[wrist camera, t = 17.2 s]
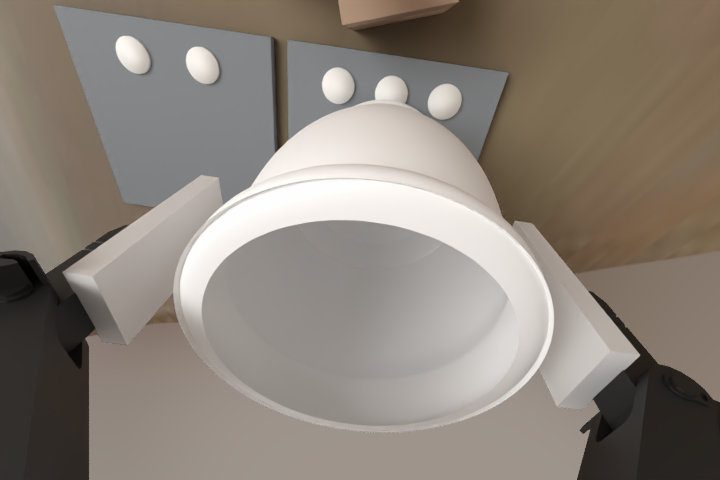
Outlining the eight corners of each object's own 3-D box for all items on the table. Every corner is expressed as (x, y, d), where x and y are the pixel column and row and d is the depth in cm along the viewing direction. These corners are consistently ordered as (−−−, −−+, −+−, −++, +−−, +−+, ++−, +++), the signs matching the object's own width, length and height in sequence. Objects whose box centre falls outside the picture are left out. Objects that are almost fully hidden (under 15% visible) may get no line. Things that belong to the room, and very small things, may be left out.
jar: (389, 249, 25) (381, 461, 12) (280, 177, 22) (132, 356, 10) (492, 149, 19) (658, 347, 7) (364, 37, 17) (268, 38, 4)
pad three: (291, 224, 25) (288, 229, 24) (290, 39, 18) (286, 39, 17) (444, 248, 25) (445, 254, 24) (505, 71, 18) (509, 72, 17)
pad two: (129, 199, 25) (121, 203, 24) (62, 6, 18) (49, 4, 17) (279, 222, 25) (276, 227, 24) (273, 37, 18) (269, 37, 17)
